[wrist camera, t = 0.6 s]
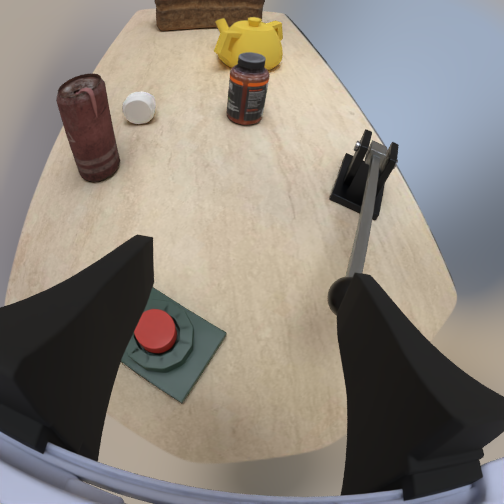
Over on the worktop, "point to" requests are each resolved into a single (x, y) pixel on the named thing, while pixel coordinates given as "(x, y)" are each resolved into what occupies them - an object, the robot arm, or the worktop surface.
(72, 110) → the can
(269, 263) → the worktop surface
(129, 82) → the worktop surface
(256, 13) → the bread
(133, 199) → the worktop surface
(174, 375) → the button box
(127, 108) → the white short cylinder
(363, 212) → the grey lever handle
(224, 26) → the teapot
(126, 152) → the worktop surface
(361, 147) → the bracket
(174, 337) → the button
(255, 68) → the supplement bottle
